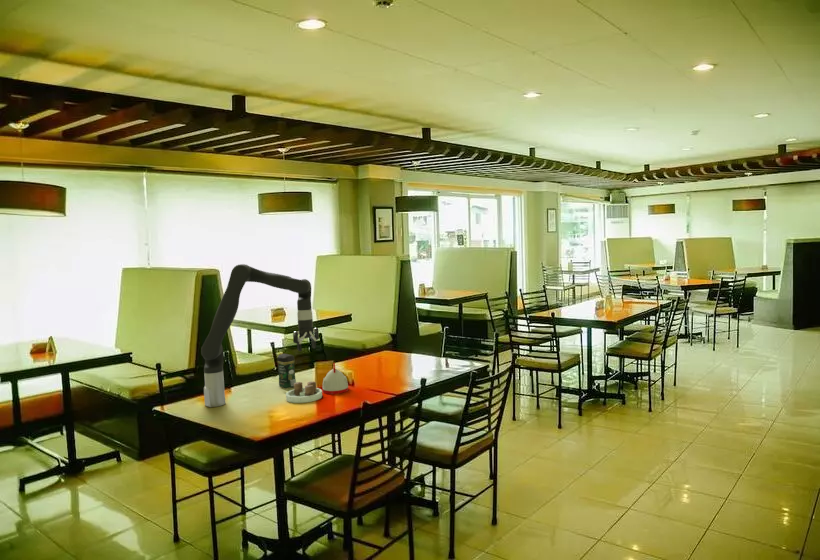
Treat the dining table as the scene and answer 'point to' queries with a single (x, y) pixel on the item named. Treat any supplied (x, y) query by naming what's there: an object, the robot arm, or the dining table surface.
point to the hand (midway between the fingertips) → (306, 349)
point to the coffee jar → (286, 370)
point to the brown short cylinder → (309, 390)
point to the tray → (303, 396)
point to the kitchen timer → (335, 382)
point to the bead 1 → (298, 388)
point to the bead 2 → (313, 385)
